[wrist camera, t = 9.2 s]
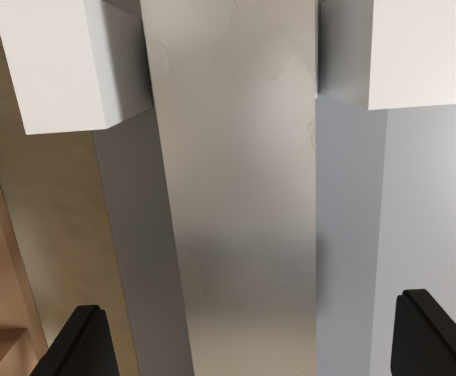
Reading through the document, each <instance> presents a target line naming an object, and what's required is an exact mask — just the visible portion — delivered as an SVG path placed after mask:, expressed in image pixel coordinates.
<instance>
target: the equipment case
mask: <svg viewBox="0 0 456 376" xmlns="http://www.w3.org/2000/svg"><path fill="white" fill-rule="evenodd" d="M0 36H1V40H2V43H3V47H4V51H5V55H6V59H7V63H8V67H9V70H10V74H11V78H12V82H13V86H14V90H15V94H16V97H17V101H18V105H19V109H20V113H21V117H22V121H23V124H24V128H25V132H26V135H30V134H44V133H58V132H72V131H86V130H91V132H92V137H93V142H94V147H95V152H96V158H97V163H98V168H99V173H100V178H101V183H102V188H103V193H104V198H105V203H106V208H107V213H108V218H109V223H110V228H111V233H112V238H113V243H114V248H115V253H116V258H117V263H118V268H119V273H120V278H121V283H122V288H123V293H124V298H125V303H126V308H127V313H128V318H129V323H130V328H131V333H132V339H133V344H134V349H135V354H136V359H137V364H138V369H139V374H140V376H195V374H194V367H193V360H192V353H191V346H190V340H189V333H188V326H187V319H186V312H185V305H184V299H183V292H182V285H181V278H180V271H179V264H178V257H177V251H176V244H175V237H174V230H173V223H172V216H171V210H170V203H169V196H168V189H167V182H166V175H165V168H164V162H163V155H162V148H161V141H160V134H159V127H158V121H157V114H156V107H155V100H154V93H153V86H152V80H151V73H150V66H149V59H148V52H147V45H146V38H145V32H144V25H143V18H142V11H141V4H140V0H0ZM315 168H316V376H392V374H391V369H390V362H391V352H392V341H393V330H394V319H395V309H396V299H397V296H398V295H402V292H403V290H407V289H426V290H427V291H428V292H429V293H430V294H431V295H432V297H433V298H434V299H435V300H436V301H437V302H438V304H439V305H440V306H441V307H442V308H443V309H444V311H445V312H446V313H447V314H448V315H449V316H450V318H451V319H452V320H453V321H454V322H455V323H456V0H315Z"/></svg>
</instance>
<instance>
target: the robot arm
mask: <svg viewBox="0 0 456 376" xmlns="http://www.w3.org/2000/svg"><path fill="white" fill-rule="evenodd" d="M390 369H391V374H392V376H456V323H455V322H454V321H453V320H452V319H451V318H450V316H449V315H448V314H447V313H446V312H445V311H444V309H443V308H442V307H441V306H440V305H439V304H438V302H437V301H436V300H435V299H434V298H433V297H432V295H431V294H430V293H429V292H428V291H427V290H426V289H407V290H403V292H402V295H398V296H397V299H396V309H395V319H394V330H393V341H392V352H391V362H390ZM29 376H120V375H119V370H118V366H117V361H116V357H115V352H114V348H113V343H112V339H111V334H110V330H109V326H108V321H107V317H106V313H105V311H104V310H103V309H102V310H100V307H99V306H98V305H84V306H78V307H77V308H76V309H75V310H74V312H73V313H72V315H71V316H70V318H69V319H68V321H67V322H66V324H65V325H64V327H63V328H62V330H61V331H60V333H59V334H58V336H57V337H56V339H55V340H54V342H53V343H52V345H51V346H50V348H49V349H48V351H47V352H46V354H45V355H43V357H42V358H41V359H40V360H39V362H38V363H37V365H36V366H35V368H34V369H33V371H32V372H31V374H30V375H29Z"/></svg>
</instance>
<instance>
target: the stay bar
mask: <svg viewBox="0 0 456 376" xmlns="http://www.w3.org/2000/svg"><path fill="white" fill-rule="evenodd" d="M140 4H141V11H142V18H143V25H144V32H145V38H146V45H147V52H148V59H149V66H150V73H151V80H152V86H153V93H154V100H155V107H156V114H157V121H158V127H159V134H160V141H161V148H162V155H163V162H164V168H165V175H166V182H167V189H168V196H169V203H170V210H171V216H172V223H173V230H174V237H175V244H176V251H177V257H178V264H179V271H180V278H181V285H182V292H183V299H184V305H185V312H186V319H187V326H188V333H189V340H190V346H191V353H192V360H193V367H194V374H195V376H316V168H315V0H140Z"/></svg>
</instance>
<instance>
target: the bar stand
mask: <svg viewBox="0 0 456 376" xmlns="http://www.w3.org/2000/svg"><path fill="white" fill-rule="evenodd" d="M47 351H48V346H47V342H46V339H45V335H44V332H43V329H42V325H41V322H40V319H39V315H38V312H37V308H36V305H35V302H34V298H33V295H32V292H31V288H30V285H29V282H28V278H27V275H26V271H25V268H24V265H23V261H22V258H21V255H20V251H19V248H18V244H17V241H16V238H15V234H14V231H13V228H12V224H11V221H10V217H9V214H8V211H7V207H6V204H5V201H4V197H3V194H2V190H1V187H0V376H29V375H30V374H31V372H32V371H33V369H34V368H35V366H36V365H37V363H38V362H39V360H40V359H41V358H42V357H43V355H45V354H46V352H47Z"/></svg>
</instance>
